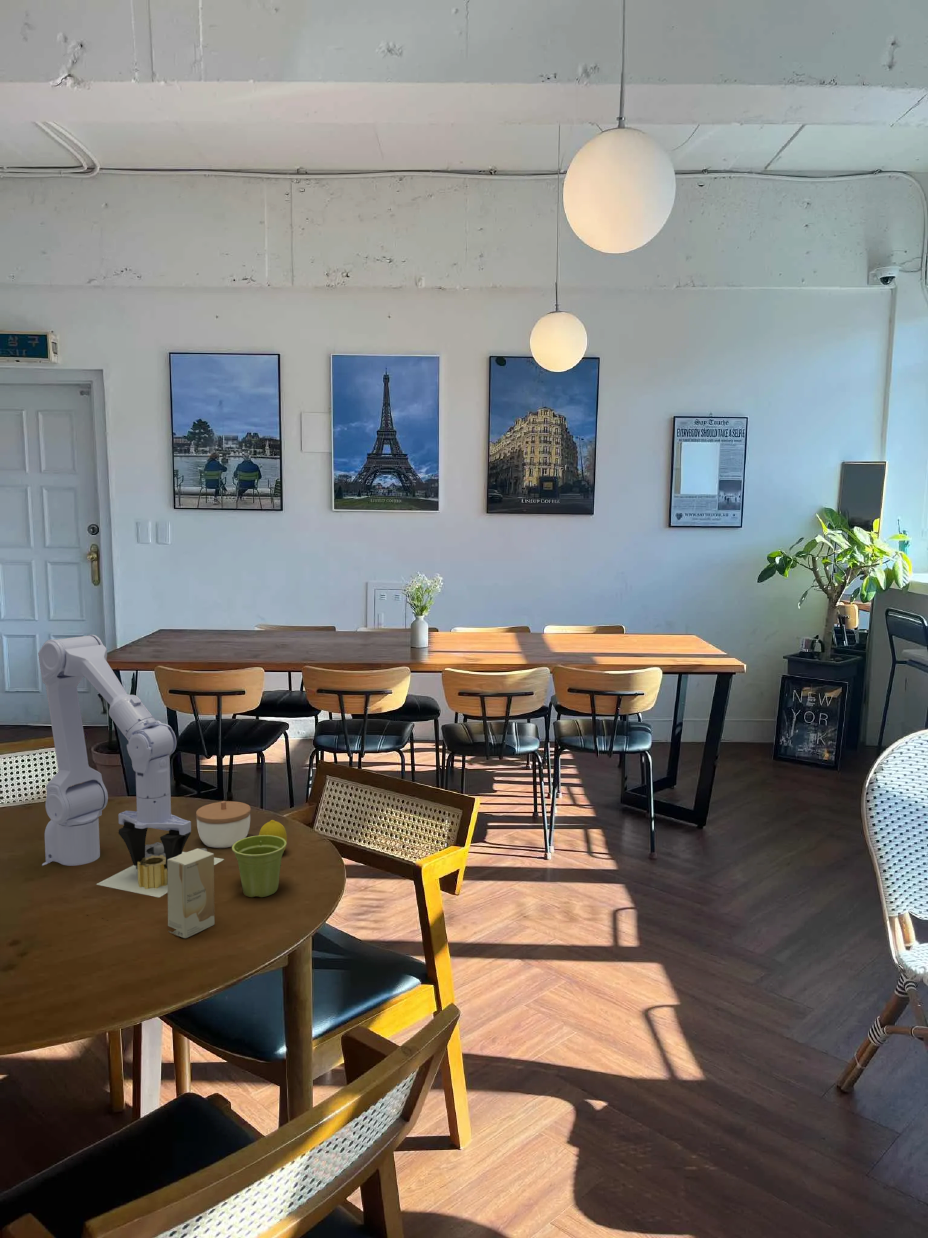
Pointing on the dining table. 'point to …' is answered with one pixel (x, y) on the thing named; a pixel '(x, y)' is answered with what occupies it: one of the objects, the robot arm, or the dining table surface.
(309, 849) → the dining table surface
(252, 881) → the plant pot
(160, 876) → the brass gear
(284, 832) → the lemon
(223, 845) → the lidded jar
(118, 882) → the gear board
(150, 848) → the gear
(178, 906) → the skincare box
